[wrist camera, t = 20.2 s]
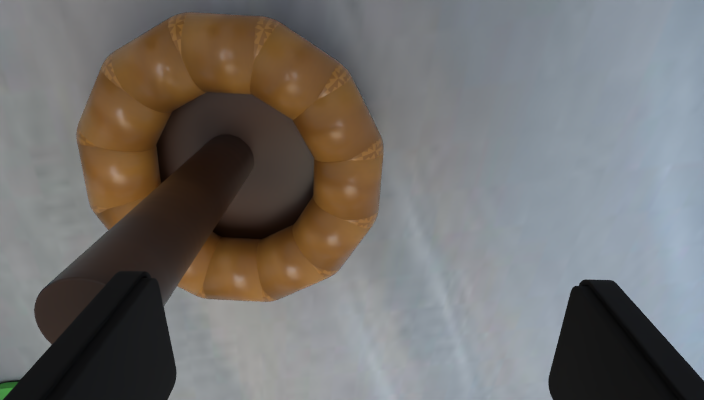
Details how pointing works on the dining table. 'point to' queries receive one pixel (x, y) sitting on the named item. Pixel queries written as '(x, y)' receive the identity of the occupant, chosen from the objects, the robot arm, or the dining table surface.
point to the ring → (273, 89)
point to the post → (194, 200)
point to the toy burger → (6, 389)
